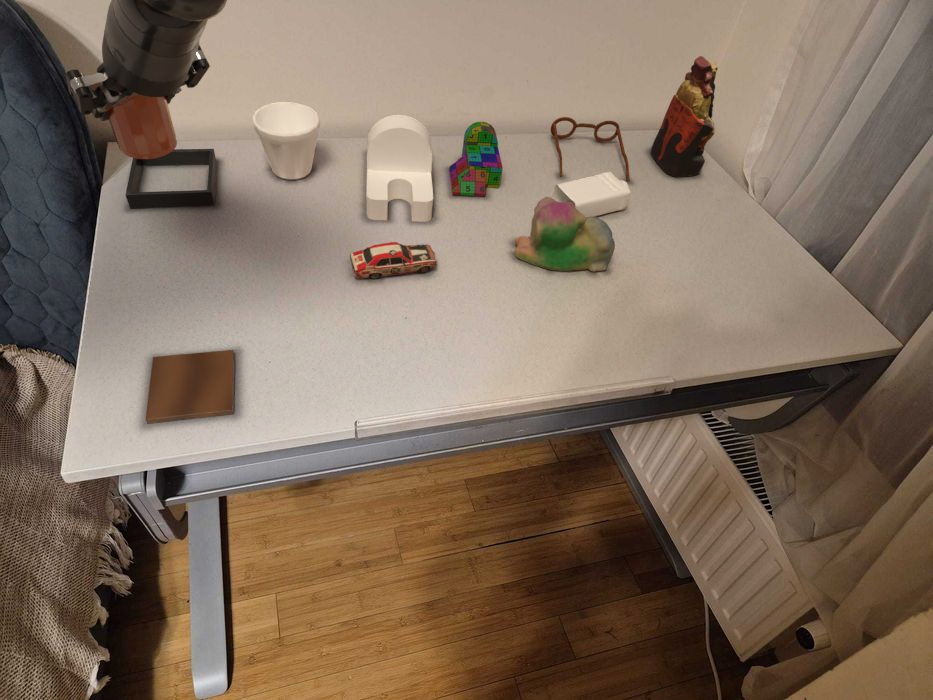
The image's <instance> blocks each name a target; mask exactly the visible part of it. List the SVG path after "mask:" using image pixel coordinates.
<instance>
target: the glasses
mask: <svg viewBox="0 0 933 700" xmlns="http://www.w3.org/2000/svg"><path fill="white" fill-rule="evenodd" d="M561 122H569V123H571V124H572V128H571V130H570V131H569V132H568V133H565V134H558V127H557V124H558V123H561ZM606 125H611V126H614V127H615V131H614V133H613V134H612V135H611V136H610V137H609V136H608V137H606V138H604V137H600V136H598V131H599V129H600V128H601V127H603V126H606ZM577 128H589V129H594V130H593V136H594V139H595V140H596V141H597V142H601V143H607V142H611V141H613V140H614V139H615V138H618V143H619V147H620V153H621V155H622V157H623V161H624V165H625V174H626V175H625V176H626V182H630V179H631V178H630V177H631V176H630V166H629V160H628V156H627V153H626V150H625V146H624V142H623V137H622V133H621V129H620V126H619V123H618V122H616V121H614V120H604V121H601V122H599V123H598V124H596V125H595V124H594V123H587V122H586V123H583V122H581V123H577V121H576V120H575V119H574V118H572V117H568V116H563V117H562V116H561V117H559V118H556V119H555V120H554V121H553V122H552V124H551V126H550V134H551V136H552V137H553V138H554V142H555V148H556V151H557V153H558V158H559V176H560V177H563V156H562V155H563V154H562V150H561V147H560V140H559V139H567V138H570V137H571V136H572V135H573V134H574V133H575V131H576V130H577Z"/></svg>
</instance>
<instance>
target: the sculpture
mask: <svg viewBox="0 0 933 700" xmlns="http://www.w3.org/2000/svg"><path fill="white" fill-rule="evenodd" d="M530 226H531V227H530V236H525V235H523V236H517V237H516V238H515V241H514V245H515V246H516V248H515V250H514V256H515V257H516V258H517V259H518V260H520V261H523V262H526V263H529V264H531V265H534V266H537V267H539V268H542V269H546V270H550V271H557V272H572V271H573V272H574V271H580V270H589V271H591V272H594V273H595V272H601V271H606V270H607V269H608V263H609V261H610V260H611V258H612V256H613V254H614V253H615V247H616V243H615V242H616V241H615V240H614V239H615V238H613V232H612V229H611V227H610V226H609V225H608V223H607V222H606V221H604V220H603V219H601V218H599V217H598V216H595V217H593V216H589V217H585V216H584V215H583V214H582V213H580V212H579V211H578V210H577V209H576V208H575V206H574V205H573V204H572V203H569V202H558V201H556V200H554V199H552V198H551V196H545V197H543V198H541V199H539V201H538V202H537V204H536V205H535V207H534V209H533V215H532V218H531V225H530Z"/></svg>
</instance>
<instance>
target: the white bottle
mask: <svg viewBox="0 0 933 700" xmlns="http://www.w3.org/2000/svg"><path fill="white" fill-rule="evenodd" d="M630 196H631V189H630V186H629V184H628V182H627V181H626V180H623V179H621V180H620V179H619V178H618V177H616V176H615V175H614V174H613V173H612V172H611V171H606V172H602V173H598V174H595V175H591V176H587V177H583V178H578V179H574V180H569V181H566V182H565V181H564V182H561V183H558V184H554V186H553V189H552V193H551V196H550V198H552V199H554V200H556V201H558V202H569V203H572V204H573V205H574V206H575V208H576V209H577V210H578V211H579V212H580V213H582V214H583V215H584V216H585V217H589V216H593V217H598V216H602V215H606V214H609V213H614V212H620V211H622V210H625V209H626V208H627V205H628V202H629V199H630Z"/></svg>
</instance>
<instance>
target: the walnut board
mask: <svg viewBox="0 0 933 700" xmlns="http://www.w3.org/2000/svg"><path fill="white" fill-rule="evenodd" d="M149 379H150V380H149V387H148V395H147V396H148V397H147V403H146V411H145V419H144V421H145V423H146V424H154V423H155V424H156V423H165V422H173V421H174V422H175V421H183V420H191V419H200V418H208V417H209V418H210V417H219V416H220V417H221V416H228V415H234V410H235V409H234V408H235V407H234V406H235V405H234V404H235V350H234V349H225V350H216V351H215V350H214V351H204V352H203V351H202V352H192V353H182V354H181V353H180V354H171V355H159V356H153V357H152V362H151V370H150V378H149Z"/></svg>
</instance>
